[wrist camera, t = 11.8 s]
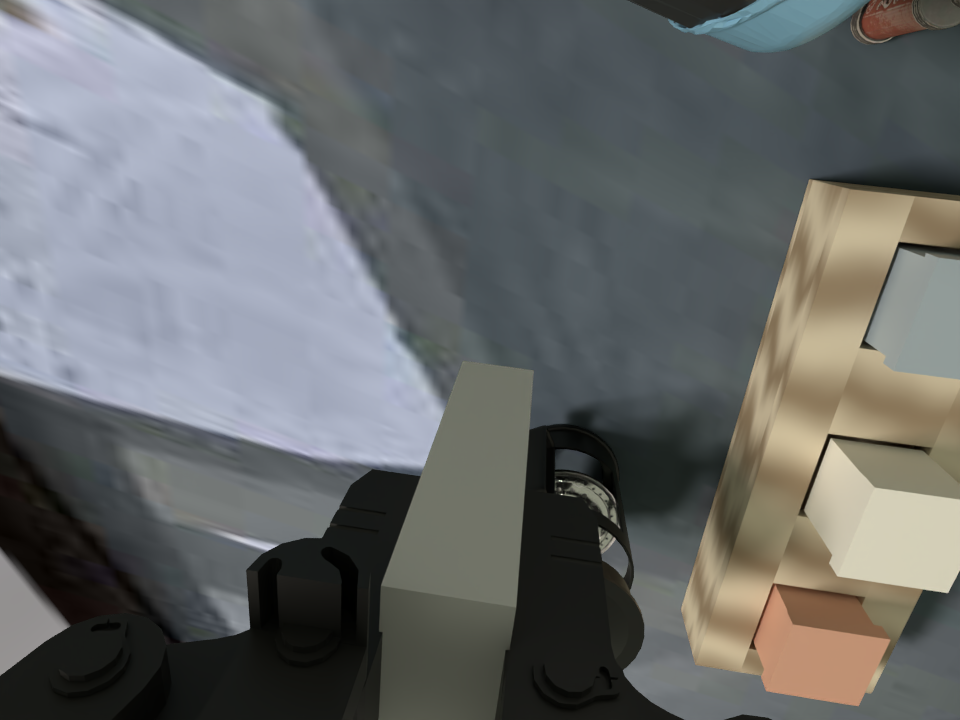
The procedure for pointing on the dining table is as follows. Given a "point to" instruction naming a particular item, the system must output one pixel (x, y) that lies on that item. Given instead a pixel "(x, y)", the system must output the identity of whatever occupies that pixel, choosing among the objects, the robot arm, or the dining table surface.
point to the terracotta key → (817, 644)
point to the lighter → (902, 18)
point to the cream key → (887, 515)
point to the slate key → (919, 312)
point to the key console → (818, 418)
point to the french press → (606, 509)
